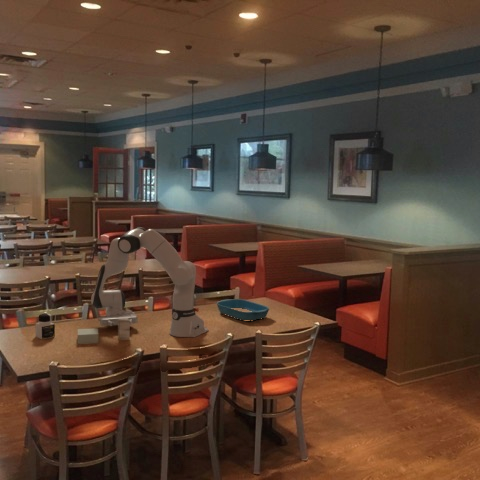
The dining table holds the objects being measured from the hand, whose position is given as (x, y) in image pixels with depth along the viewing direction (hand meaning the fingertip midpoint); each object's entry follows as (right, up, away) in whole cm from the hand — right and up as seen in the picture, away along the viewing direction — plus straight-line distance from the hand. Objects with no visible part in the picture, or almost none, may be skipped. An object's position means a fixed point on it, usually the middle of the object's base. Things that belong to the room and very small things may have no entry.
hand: (121, 323), depth 287 cm
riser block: (-14, -7, -13) cm, 20 cm away
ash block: (+3, -6, -7) cm, 10 cm away
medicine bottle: (-37, -5, -9) cm, 39 cm away
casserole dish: (+65, -3, +47) cm, 80 cm away
